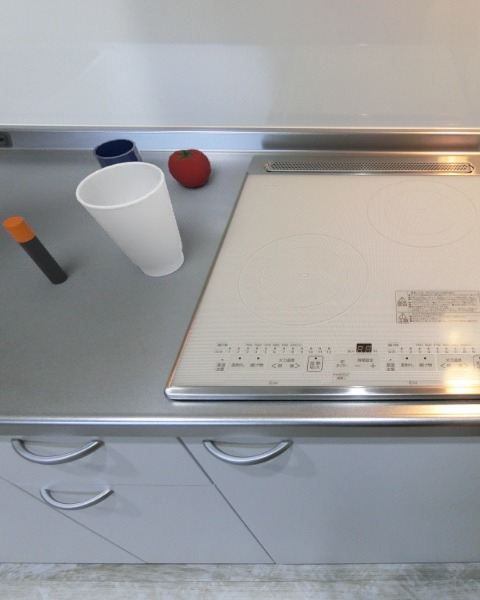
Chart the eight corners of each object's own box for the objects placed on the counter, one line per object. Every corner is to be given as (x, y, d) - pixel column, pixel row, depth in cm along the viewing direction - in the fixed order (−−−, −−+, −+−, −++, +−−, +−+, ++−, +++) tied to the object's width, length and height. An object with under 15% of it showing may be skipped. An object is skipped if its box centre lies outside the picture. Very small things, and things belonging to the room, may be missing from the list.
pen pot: (105, 184, 91) (85, 148, 85) (141, 169, 95) (124, 134, 89) (123, 198, 87) (103, 162, 82) (158, 182, 91) (142, 147, 85)
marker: (48, 279, 72) (0, 221, 63) (64, 271, 74) (18, 214, 65) (54, 286, 71) (6, 229, 62) (70, 278, 72) (25, 221, 64)
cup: (171, 294, 70) (126, 214, 59) (110, 278, 73) (54, 198, 61) (212, 248, 78) (180, 168, 66) (156, 234, 80) (115, 155, 68)
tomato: (216, 170, 95) (206, 139, 89) (211, 191, 90) (199, 160, 84) (178, 172, 94) (165, 141, 89) (170, 194, 89) (156, 162, 83)
